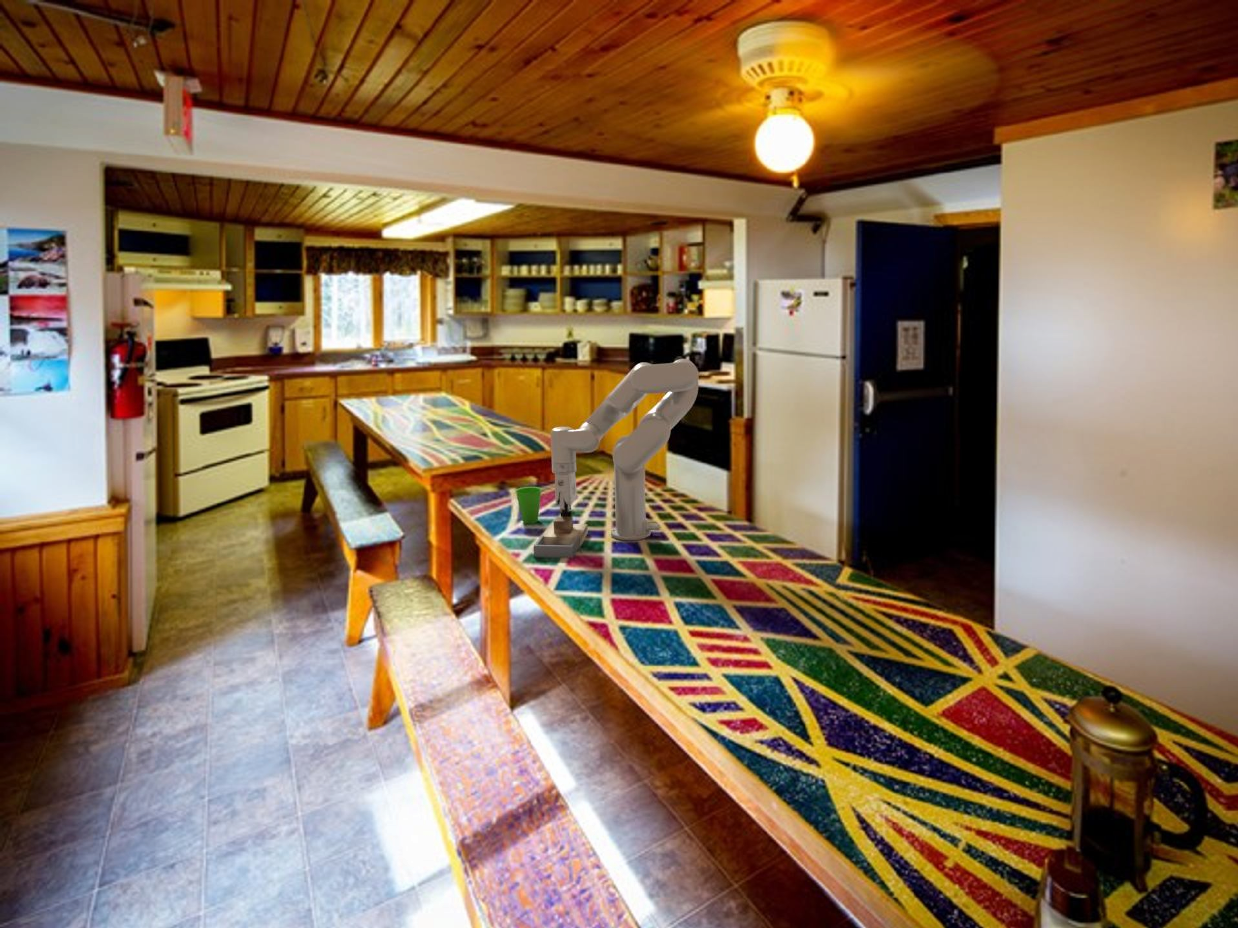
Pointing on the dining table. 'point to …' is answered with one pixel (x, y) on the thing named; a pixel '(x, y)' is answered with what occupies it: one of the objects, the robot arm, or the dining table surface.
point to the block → (563, 525)
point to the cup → (529, 503)
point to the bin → (555, 549)
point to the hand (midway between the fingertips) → (566, 523)
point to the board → (565, 535)
